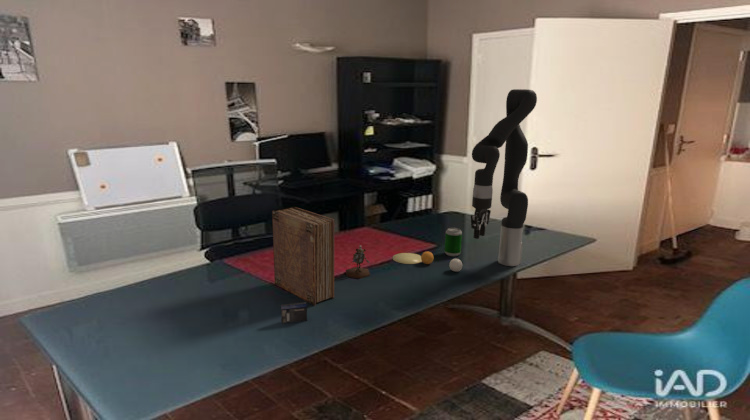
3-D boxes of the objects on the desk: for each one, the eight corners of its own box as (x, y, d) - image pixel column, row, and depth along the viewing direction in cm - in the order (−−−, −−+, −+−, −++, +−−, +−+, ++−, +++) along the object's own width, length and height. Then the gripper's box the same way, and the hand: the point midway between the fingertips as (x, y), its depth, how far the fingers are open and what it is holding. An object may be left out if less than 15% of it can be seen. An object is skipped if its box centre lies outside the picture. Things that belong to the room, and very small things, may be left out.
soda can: (461, 257, 224) (463, 232, 221) (445, 256, 224) (446, 231, 221) (459, 251, 231) (461, 227, 228) (443, 251, 231) (444, 227, 228)
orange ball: (428, 260, 219) (429, 249, 217) (435, 264, 214) (436, 252, 212) (418, 262, 216) (418, 250, 215) (425, 266, 211) (425, 254, 210)
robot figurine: (353, 280, 195) (353, 252, 192) (339, 273, 202) (340, 246, 199) (374, 274, 202) (375, 246, 199) (361, 267, 208) (361, 241, 205)
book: (334, 298, 178) (334, 219, 170) (314, 306, 172) (313, 224, 164) (294, 278, 195) (292, 205, 188) (274, 284, 189) (272, 209, 182)
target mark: (412, 251, 230) (412, 251, 230) (429, 261, 218) (429, 260, 218) (386, 255, 223) (386, 255, 223) (402, 265, 211) (402, 265, 211)
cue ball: (456, 268, 210) (457, 256, 209) (464, 272, 206) (465, 260, 204) (446, 270, 208) (447, 257, 207) (454, 274, 203) (455, 262, 202)
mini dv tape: (281, 323, 159) (281, 306, 157) (281, 321, 160) (280, 304, 159) (307, 320, 161) (306, 304, 160) (306, 318, 162) (306, 302, 161)
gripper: (483, 200, 185) (480, 243, 189) (498, 194, 196) (495, 234, 201) (465, 197, 189) (462, 239, 194) (481, 191, 201) (478, 231, 205)
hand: (479, 236), depth 197 cm, fingers open, 4 cm apart
